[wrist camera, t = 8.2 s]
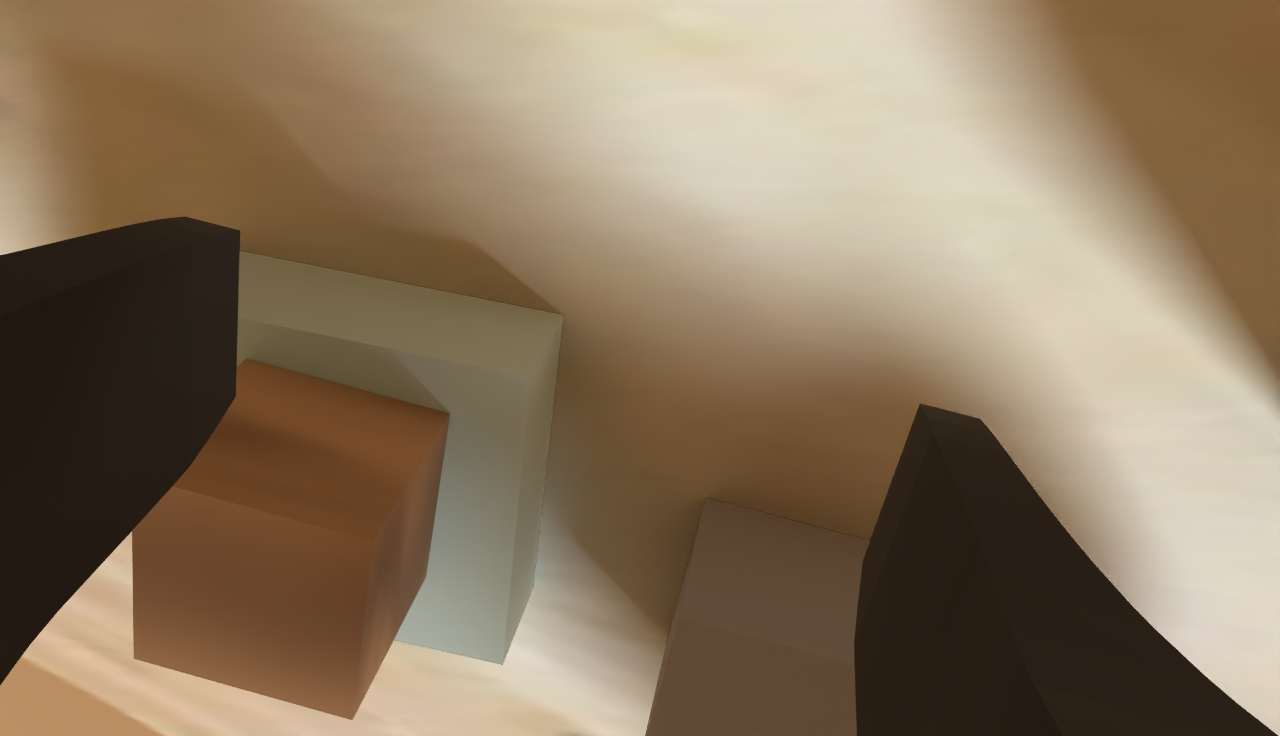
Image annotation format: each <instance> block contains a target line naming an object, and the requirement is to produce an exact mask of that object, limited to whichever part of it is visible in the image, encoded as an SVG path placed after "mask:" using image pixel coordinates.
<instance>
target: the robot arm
mask: <svg viewBox="0 0 1280 736" xmlns="http://www.w3.org/2000/svg"><path fill="white" fill-rule="evenodd" d="M239 255H240V231H239V230H235V229H231V228H227V227H223V226H219V225H215V224H211V223H208V222H204V221H200V220H196V219H192V218H188V217H178V218H167V219H160V220H154V221H149V222H143V223H138V224H133V225H129V226H124V227H120V228H115V229H111V230H106V231H102V232H98V233H93V234H89V235H85V236H81V237H77V238H72V239H68V240H64V241H60V242H56V243H51V244H47V245H43V246H39V247H34V248H30V249H26V250H22V251H18V252H13V253H9V254H5V255H0V685H1V683H2V682H3V681H4V679H5V678H6V677H7V675H8V674H9V672H10V671H11V669H12V668H13V667H14V666H15V664H16V663H17V661H18V660H19V659H20V657H21V656H22V655H23V653H24V652H25V651H26V649H27V648H28V647H29V645H30V644H31V643H32V642H33V640H34V639H35V638H36V637H37V636H38V634H39V633H40V632H41V631H42V630H43V628H44V627H45V626H46V625H47V624H48V622H49V621H50V620H51V619H52V618H53V617H54V615H55V614H56V613H57V612H58V611H59V609H60V608H61V607H62V606H63V605H64V604H65V603H66V602H67V601H68V600H69V599H70V598H71V596H72V595H73V594H74V593H75V592H76V591H77V590H78V589H79V588H80V587H81V586H82V585H83V583H84V582H85V581H86V580H87V579H88V578H89V577H90V576H91V575H92V574H93V573H94V571H95V570H96V569H97V568H98V567H99V566H100V565H101V564H102V563H103V562H104V561H105V560H106V558H107V557H108V556H109V555H110V554H111V553H112V552H113V551H114V550H115V549H116V548H117V547H118V545H119V544H120V543H121V542H122V541H123V540H124V539H125V538H126V537H127V536H128V535H129V534H130V532H131V531H132V530H133V529H134V528H135V527H136V526H137V525H138V524H139V523H140V522H141V521H142V519H143V518H144V517H145V516H146V515H147V514H148V513H149V512H150V511H151V510H152V508H153V507H154V506H155V505H156V504H157V503H158V502H159V501H160V500H161V498H162V497H163V496H164V495H165V494H166V493H167V492H168V491H169V490H170V488H171V487H172V486H173V485H174V484H175V483H176V482H177V481H178V479H179V478H180V477H181V476H182V475H183V474H184V473H185V471H186V470H187V469H188V468H189V467H190V466H191V464H192V463H193V461H194V460H195V458H196V457H197V455H198V454H199V453H200V451H201V450H202V448H203V447H204V445H205V444H206V442H207V441H208V440H209V438H210V437H211V435H212V434H213V432H214V430H215V429H216V427H217V426H218V424H219V423H220V421H221V419H222V418H223V416H224V415H225V413H226V412H227V410H228V408H229V407H230V405H231V404H232V402H233V400H234V399H235V397H236V374H237V334H238V295H239ZM854 665H855V696H856V724H857V736H1278V735H1277V734H1275V733H1274V732H1273V731H1271V730H1270V729H1269V728H1268V727H1266V726H1265V725H1264V724H1263V723H1261V722H1260V721H1259V720H1258V719H1256V718H1255V717H1254V716H1252V715H1251V714H1250V713H1249V712H1247V711H1246V710H1245V709H1244V708H1242V707H1241V706H1240V705H1239V704H1237V703H1236V702H1235V701H1234V700H1233V699H1231V698H1230V697H1229V696H1228V695H1227V694H1226V693H1224V692H1223V691H1222V690H1221V689H1220V688H1218V687H1217V686H1216V685H1215V684H1214V683H1213V682H1211V681H1210V680H1209V679H1208V678H1207V677H1206V676H1205V675H1203V674H1202V673H1201V672H1200V671H1199V670H1198V669H1197V668H1196V667H1195V666H1194V665H1193V664H1192V663H1191V662H1190V661H1188V660H1187V659H1186V658H1185V657H1184V656H1183V655H1182V654H1181V653H1180V652H1179V651H1178V650H1177V649H1176V648H1175V647H1173V646H1172V645H1171V644H1170V643H1169V642H1168V641H1167V640H1166V639H1165V638H1164V637H1163V636H1162V635H1161V634H1160V633H1158V632H1157V631H1156V630H1155V629H1154V628H1153V627H1152V626H1151V625H1150V624H1149V623H1148V622H1147V621H1146V620H1145V619H1144V618H1143V617H1142V616H1141V615H1140V614H1139V613H1138V611H1137V610H1136V609H1135V608H1134V607H1133V606H1132V605H1131V604H1130V603H1129V602H1128V601H1127V600H1126V599H1125V598H1124V596H1123V595H1122V594H1121V593H1120V592H1119V591H1118V590H1117V589H1116V588H1115V586H1114V585H1113V584H1112V583H1111V582H1110V581H1109V580H1108V579H1107V578H1106V577H1105V575H1104V574H1103V573H1102V572H1101V571H1100V570H1099V569H1098V568H1097V567H1096V565H1095V564H1094V563H1093V562H1092V561H1091V560H1090V558H1089V557H1088V556H1087V555H1086V554H1085V553H1084V551H1083V550H1082V549H1081V548H1080V547H1079V545H1078V544H1077V543H1076V542H1075V541H1074V539H1073V538H1072V537H1071V536H1070V534H1069V533H1068V532H1067V531H1066V530H1065V528H1064V527H1063V526H1062V525H1061V523H1060V522H1059V521H1058V519H1057V518H1056V517H1055V516H1054V514H1053V513H1052V512H1051V511H1050V509H1049V508H1048V507H1047V505H1046V504H1045V503H1044V501H1043V500H1042V499H1041V498H1040V496H1039V495H1038V494H1037V492H1036V491H1035V490H1034V488H1033V487H1032V486H1031V484H1030V483H1029V482H1028V480H1027V479H1026V478H1025V476H1024V475H1023V474H1022V472H1021V471H1020V470H1019V468H1018V467H1017V466H1016V464H1015V463H1014V462H1013V460H1012V459H1011V458H1010V456H1009V455H1008V454H1007V452H1006V451H1005V449H1004V448H1003V447H1002V445H1001V444H1000V443H999V441H998V440H997V439H996V438H995V436H994V435H993V434H992V432H991V431H990V430H989V429H988V427H987V426H986V425H985V424H984V423H983V422H982V421H981V420H980V419H978V418H975V417H971V416H967V415H963V414H959V413H955V412H951V411H947V410H943V409H939V408H935V407H931V406H927V405H923V404H920V405H919V408H918V410H917V413H916V416H915V419H914V421H913V424H912V427H911V430H910V432H909V435H908V438H907V441H906V443H905V446H904V449H903V452H902V454H901V457H900V460H899V463H898V465H897V468H896V471H895V474H894V476H893V479H892V482H891V485H890V487H889V490H888V493H887V496H886V498H885V501H884V504H883V507H882V509H881V512H880V515H879V518H878V520H877V523H876V526H875V529H874V531H873V534H872V537H871V540H870V542H869V545H868V548H867V551H866V553H865V556H864V559H863V562H862V571H861V580H860V589H859V598H858V606H857V617H856V627H855V638H854Z"/></svg>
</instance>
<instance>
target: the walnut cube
mask: <svg viewBox="0 0 1280 736" xmlns="http://www.w3.org/2000/svg"><path fill="white" fill-rule="evenodd" d="M449 418H450V413H447V412H443V411H439V410H435V409H432V408H428V407H424V406H421V405H417V404H413V403H409V402H406V401H402V400H398V399H394V398H391V397H387V396H383V395H379V394H376V393H372V392H368V391H365V390H361V389H357V388H353V387H350V386H346V385H342V384H338V383H335V382H331V381H327V380H323V379H320V378H316V377H312V376H309V375H305V374H301V373H297V372H294V371H290V370H286V369H282V368H279V367H275V366H271V365H268V364H264V363H260V362H256V361H253V360H249V359H245V360H244V361H243V362H242V363H241V364H240V365H239V366H238V367H237V374H236V397H235V399H234V400H233V402H232V404H231V405H230V407H229V408H228V410H227V412H226V413H225V415H224V416H223V418H222V419H221V421H220V423H219V424H218V426H217V427H216V429H215V430H214V432H213V434H212V435H211V437H210V438H209V440H208V441H207V442H206V444H205V445H204V447H203V448H202V450H201V451H200V453H199V454H198V455H197V457H196V458H195V460H194V461H193V463H192V464H191V466H190V467H189V468H188V469H187V470H186V471H185V473H184V474H183V475H182V476H181V477H180V478H179V479H178V481H177V482H176V483H175V484H174V485H173V486H172V487H171V488H170V490H169V491H168V492H167V493H166V494H165V495H164V496H163V497H162V498H161V500H160V501H159V502H158V503H157V504H156V505H155V506H154V507H153V508H152V510H151V511H150V512H149V513H148V514H147V515H146V516H145V517H144V518H143V519H142V521H141V522H140V523H139V524H138V525H137V526H136V527H135V528H134V529H133V530H132V552H133V631H134V659H137V660H140V661H144V662H148V663H151V664H155V665H158V666H162V667H165V668H169V669H172V670H176V671H180V672H183V673H187V674H190V675H194V676H197V677H201V678H204V679H208V680H212V681H215V682H219V683H222V684H226V685H229V686H233V687H236V688H240V689H244V690H247V691H251V692H254V693H258V694H261V695H265V696H268V697H272V698H276V699H279V700H283V701H286V702H290V703H293V704H297V705H300V706H304V707H308V708H311V709H315V710H318V711H322V712H325V713H329V714H332V715H336V716H340V717H343V718H347V719H350V720H353V718H354V716H355V714H356V712H357V710H358V708H359V706H360V704H361V702H362V700H363V698H364V697H365V695H366V693H367V691H368V689H369V687H370V685H371V683H372V681H373V679H374V677H375V675H376V673H377V671H378V669H379V667H380V665H381V664H382V662H383V660H384V658H385V656H386V654H387V652H388V650H389V648H390V646H391V644H392V642H393V640H394V638H395V636H396V634H397V633H398V631H399V629H400V627H401V625H402V623H403V621H404V619H405V617H406V615H407V613H408V611H409V609H410V607H411V605H412V603H413V602H414V600H415V598H416V596H417V594H418V592H419V590H420V588H421V586H422V584H423V582H424V580H425V578H426V575H427V568H428V561H429V554H430V548H431V541H432V534H433V527H434V520H435V514H436V507H437V500H438V493H439V486H440V479H441V473H442V466H443V459H444V452H445V445H446V439H447V432H448V425H449Z"/></svg>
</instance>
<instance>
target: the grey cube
mask: <svg viewBox="0 0 1280 736" xmlns="http://www.w3.org/2000/svg"><path fill="white" fill-rule="evenodd" d="M869 542H870V540H866V539H862V538H858V537H854V536H851V535H847V534H843V533H839V532H835V531H831V530H828V529H824V528H820V527H816V526H812V525H809V524H805V523H801V522H797V521H793V520H790V519H786V518H782V517H778V516H774V515H771V514H767V513H763V512H759V511H755V510H752V509H748V508H744V507H740V506H736V505H732V504H729V503H725V502H721V501H717V500H713V499H710V498H706V499H705V502H704V506H703V510H702V513H701V517H700V521H699V525H698V528H697V532H696V536H695V539H694V543H693V547H692V550H691V554H690V558H689V561H688V565H687V569H686V572H685V576H684V580H683V583H682V587H681V591H680V594H679V598H678V602H677V606H676V609H675V613H674V617H673V620H672V624H671V628H670V631H669V635H668V639H667V643H666V648H665V652H664V656H663V661H662V665H661V669H660V674H659V678H658V683H657V687H656V691H655V696H654V700H653V704H652V709H651V713H650V717H649V722H648V726H647V730H646V735H645V736H857V724H856V696H855V665H854V638H855V627H856V617H857V606H858V598H859V589H860V580H861V571H862V562H863V559H864V556H865V553H866V551H867V548H868V545H869Z"/></svg>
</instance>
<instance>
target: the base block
mask: <svg viewBox="0 0 1280 736" xmlns="http://www.w3.org/2000/svg"><path fill="white" fill-rule="evenodd" d="M563 317H564V315H562V314H557V313H552V312H547V311H542V310H536V309H531V308H526V307H521V306H516V305H511V304H506V303H501V302H496V301H491V300H486V299H481V298H476V297H471V296H466V295H461V294H456V293H451V292H446V291H441V290H436V289H431V288H426V287H420V286H415V285H410V284H405V283H400V282H395V281H390V280H385V279H380V278H375V277H370V276H365V275H360V274H355V273H350V272H345V271H340V270H335V269H330V268H325V267H320V266H315V265H309V264H304V263H299V262H294V261H289V260H284V259H279V258H274V257H269V256H264V255H259V254H254V253H249V252H244V251H240V255H239V295H238V334H237V367H238V366H239V365H240V364H241V363H242V362H243V361H244V360H245V359H249V360H253V361H256V362H260V363H264V364H268V365H271V366H275V367H279V368H282V369H286V370H290V371H294V372H297V373H301V374H305V375H309V376H312V377H316V378H320V379H323V380H327V381H331V382H335V383H338V384H342V385H346V386H350V387H353V388H357V389H361V390H365V391H368V392H372V393H376V394H379V395H383V396H387V397H391V398H394V399H398V400H402V401H406V402H409V403H413V404H417V405H421V406H424V407H428V408H432V409H435V410H439V411H443V412H447V413H450V418H449V425H448V432H447V439H446V445H445V452H444V459H443V466H442V473H441V479H440V486H439V493H438V500H437V507H436V514H435V520H434V527H433V534H432V541H431V548H430V554H429V561H428V568H427V575H426V578H425V580H424V582H423V584H422V586H421V588H420V590H419V592H418V594H417V596H416V598H415V600H414V602H413V603H412V605H411V607H410V609H409V611H408V613H407V615H406V617H405V619H404V621H403V623H402V625H401V627H400V629H399V631H398V633H397V634H396V636H395V638H394V640H395V641H399V642H404V643H408V644H412V645H417V646H421V647H426V648H430V649H435V650H439V651H444V652H448V653H452V654H457V655H461V656H466V657H470V658H475V659H479V660H484V661H488V662H493V663H497V664H501V665H503V662H504V660H505V657H506V655H507V652H508V650H509V647H510V645H511V642H512V640H513V637H514V635H515V632H516V630H517V627H518V625H519V622H520V619H521V617H522V614H523V612H524V609H525V607H526V604H527V602H528V599H529V597H530V594H531V592H532V589H533V586H534V577H535V568H536V559H537V550H538V541H539V532H540V523H541V514H542V506H543V497H544V488H545V479H546V470H547V461H548V452H549V443H550V434H551V425H552V416H553V407H554V398H555V389H556V380H557V371H558V362H559V353H560V344H561V335H562V326H563Z"/></svg>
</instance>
